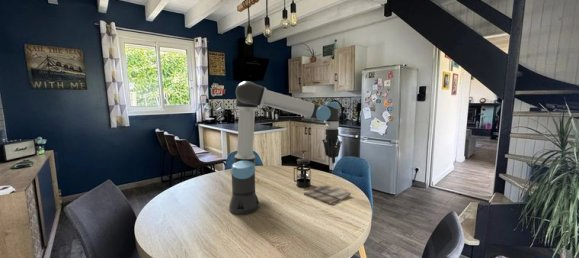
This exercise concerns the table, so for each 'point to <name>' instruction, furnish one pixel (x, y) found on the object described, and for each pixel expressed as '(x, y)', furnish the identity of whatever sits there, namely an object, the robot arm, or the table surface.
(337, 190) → the plank
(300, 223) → the table surface
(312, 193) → the laid board
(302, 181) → the french press
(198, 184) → the table surface
